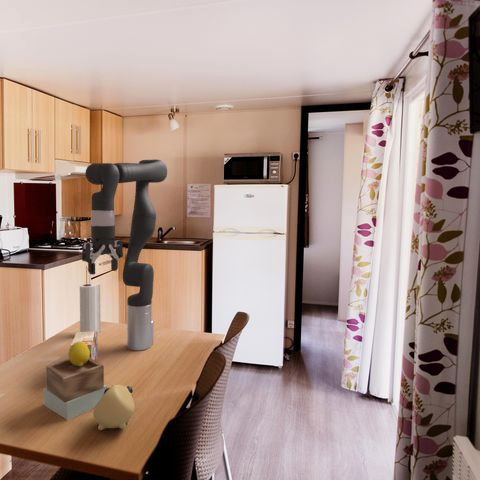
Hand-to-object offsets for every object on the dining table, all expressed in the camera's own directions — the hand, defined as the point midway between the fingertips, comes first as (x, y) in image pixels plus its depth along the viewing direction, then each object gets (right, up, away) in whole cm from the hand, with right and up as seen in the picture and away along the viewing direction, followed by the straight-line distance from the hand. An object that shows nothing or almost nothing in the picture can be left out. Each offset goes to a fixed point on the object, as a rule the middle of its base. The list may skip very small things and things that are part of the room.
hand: (103, 272), depth 127 cm
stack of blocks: (-7, -33, +3) cm, 34 cm away
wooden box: (0, -31, -21) cm, 37 cm away
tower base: (-1, -36, -20) cm, 41 cm away
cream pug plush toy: (+14, -37, -29) cm, 49 cm away
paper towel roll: (-19, -30, +34) cm, 49 cm away
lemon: (+1, -25, -21) cm, 32 cm away
